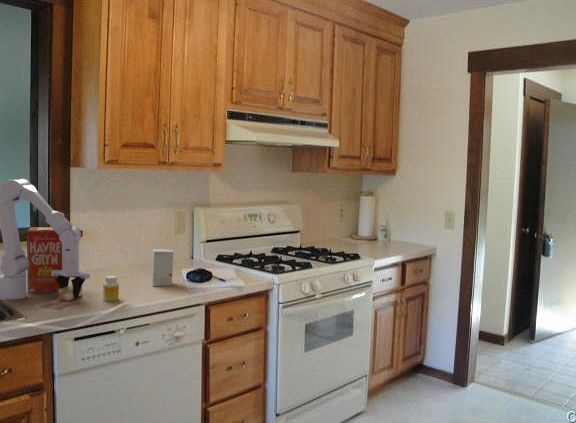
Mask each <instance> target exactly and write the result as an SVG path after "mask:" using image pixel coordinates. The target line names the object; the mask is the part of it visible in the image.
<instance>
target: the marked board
mask: <svg viewBox="0 0 576 423" xmlns="http://www.w3.org/2000/svg"><path fill="white" fill-rule="evenodd" d="M92 297H94V295H92V294H83V293H82V296H81V297H78V298H76V299H73V300H71V301H60V300H59V296H56V297H54V298H53V297H52V298H51V299H49V300H46V301H43V302H40V303H38V304H35V305H33V306H31V307H32V308H42V309H49V310H60V311H61V310H63V309H65V308H67V307H70V306H73V305H76V303H77V304H78V303H79V302H82V301H85V300H87V299H89V298H92Z"/></svg>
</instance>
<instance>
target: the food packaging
mask: <svg viewBox="0 0 576 423" xmlns="http://www.w3.org/2000/svg"><path fill="white" fill-rule="evenodd" d="M59 236H60V235H58V234H57V233H56V232H55V231H54V230H53V229H52V227H51V226H47V227H45V226H43V227H42V226H39V227H38V226H37V227H36V226H32V227H31V226H30V228H28V229H27V230H26V258H27V259H28V261H29V267H28V269H27V270H26V285H27V293H38V292H39V293H40V292H41V293H42V292H43V293H47V292H59V289H60V286H59V284H58V283H57V281H56V278H58V276H52V271H53V270H62V242H61V241H60V239H59Z"/></svg>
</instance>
